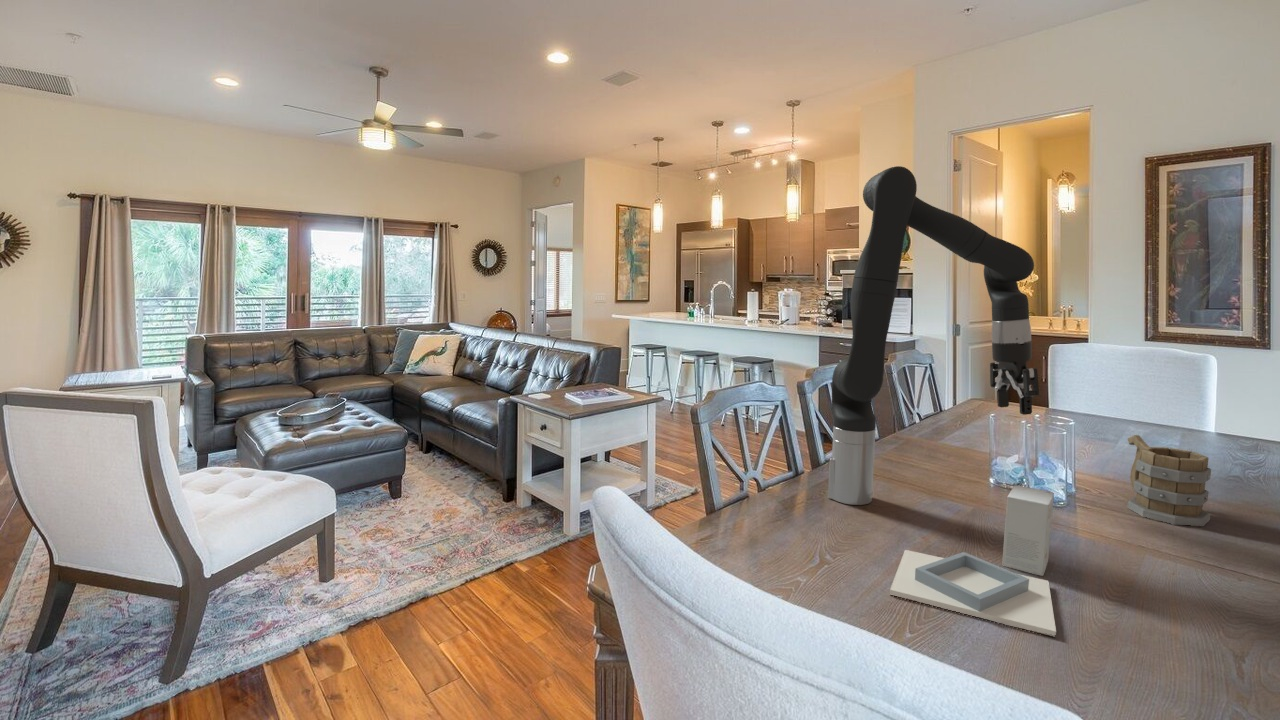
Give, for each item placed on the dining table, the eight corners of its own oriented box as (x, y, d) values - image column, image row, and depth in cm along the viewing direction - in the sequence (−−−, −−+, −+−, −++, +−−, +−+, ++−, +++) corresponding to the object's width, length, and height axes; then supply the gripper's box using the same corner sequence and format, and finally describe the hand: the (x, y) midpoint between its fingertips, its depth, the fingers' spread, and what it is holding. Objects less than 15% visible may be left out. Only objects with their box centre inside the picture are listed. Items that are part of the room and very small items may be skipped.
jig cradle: (889, 595, 95) (890, 577, 94) (904, 554, 109) (905, 539, 109) (1055, 638, 83) (1057, 618, 83) (1047, 586, 98) (1049, 569, 97)
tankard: (1223, 528, 121) (1232, 458, 119) (1154, 524, 123) (1162, 455, 122) (1156, 495, 141) (1163, 434, 139) (1098, 491, 143) (1104, 431, 141)
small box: (1008, 550, 111) (1013, 484, 109) (1048, 560, 107) (1055, 491, 105) (1000, 565, 105) (1006, 496, 103) (1043, 577, 101) (1050, 504, 99)
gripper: (977, 339, 139) (980, 406, 140) (1013, 343, 124) (1016, 418, 126) (1009, 336, 138) (1012, 403, 140) (1049, 340, 124) (1052, 415, 126)
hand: (1014, 410), depth 133 cm, fingers open, 8 cm apart
